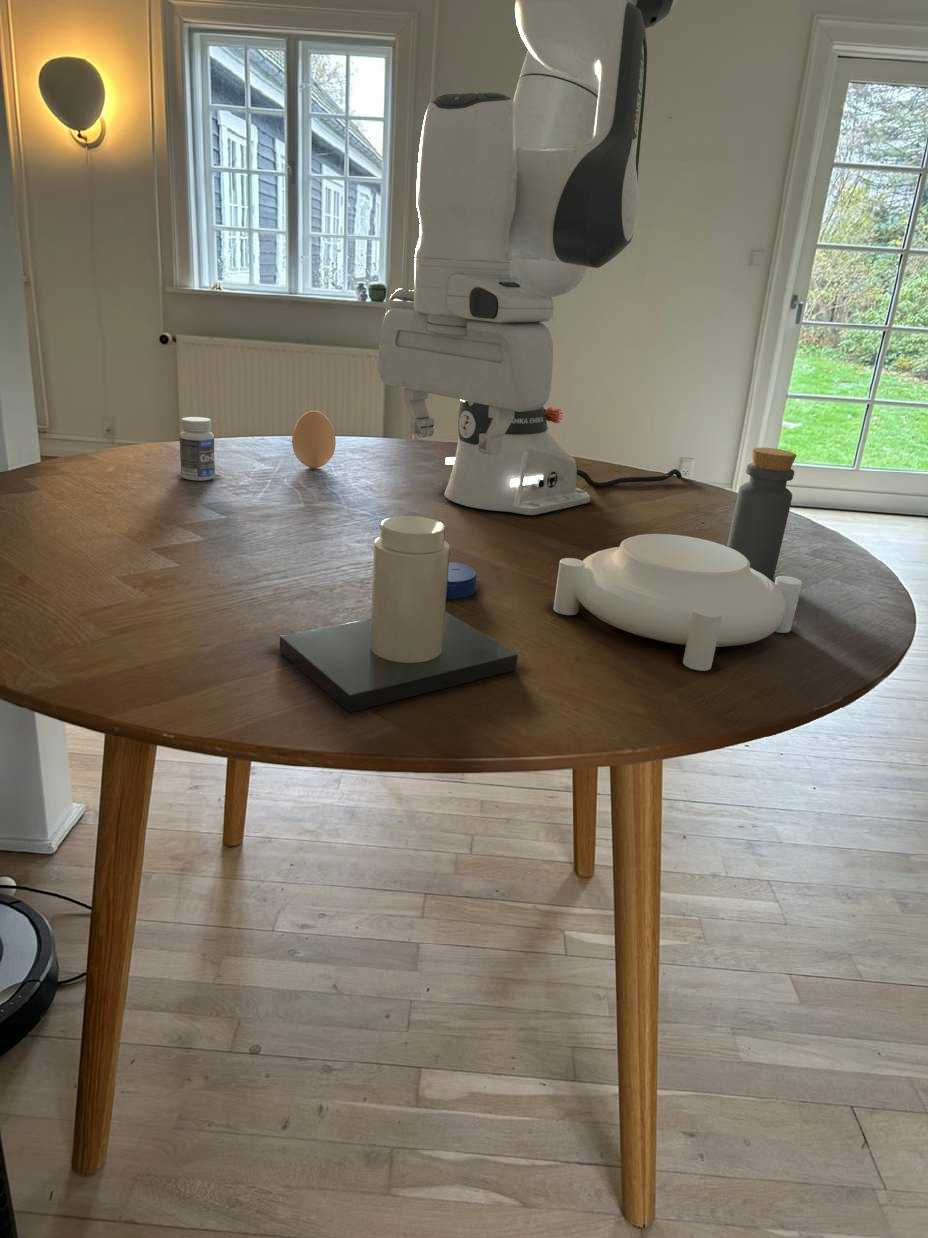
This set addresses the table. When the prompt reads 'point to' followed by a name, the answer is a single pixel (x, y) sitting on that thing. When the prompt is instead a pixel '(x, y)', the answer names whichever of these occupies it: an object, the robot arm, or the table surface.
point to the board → (391, 663)
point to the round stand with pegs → (679, 594)
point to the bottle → (763, 509)
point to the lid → (460, 581)
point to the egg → (313, 439)
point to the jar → (409, 589)
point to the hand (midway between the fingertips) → (455, 444)
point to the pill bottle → (197, 449)
